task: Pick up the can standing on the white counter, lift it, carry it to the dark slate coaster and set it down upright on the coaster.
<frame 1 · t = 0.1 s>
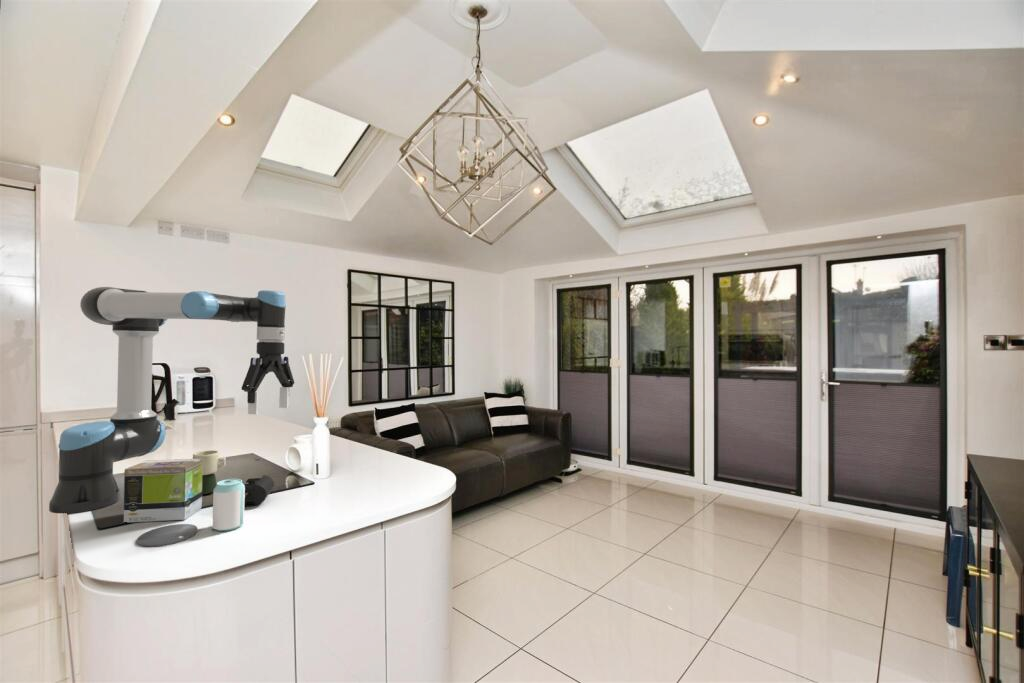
hand: (269, 410, 138), 28 cm above the table, tool pointing down, fingers open, 13 cm apart
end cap: (257, 502, 138), on the table
can: (228, 527, 119), on the table
tea box: (164, 516, 126), on the table
character mug: (205, 493, 144), on the table
coaster: (168, 536, 113), on the table
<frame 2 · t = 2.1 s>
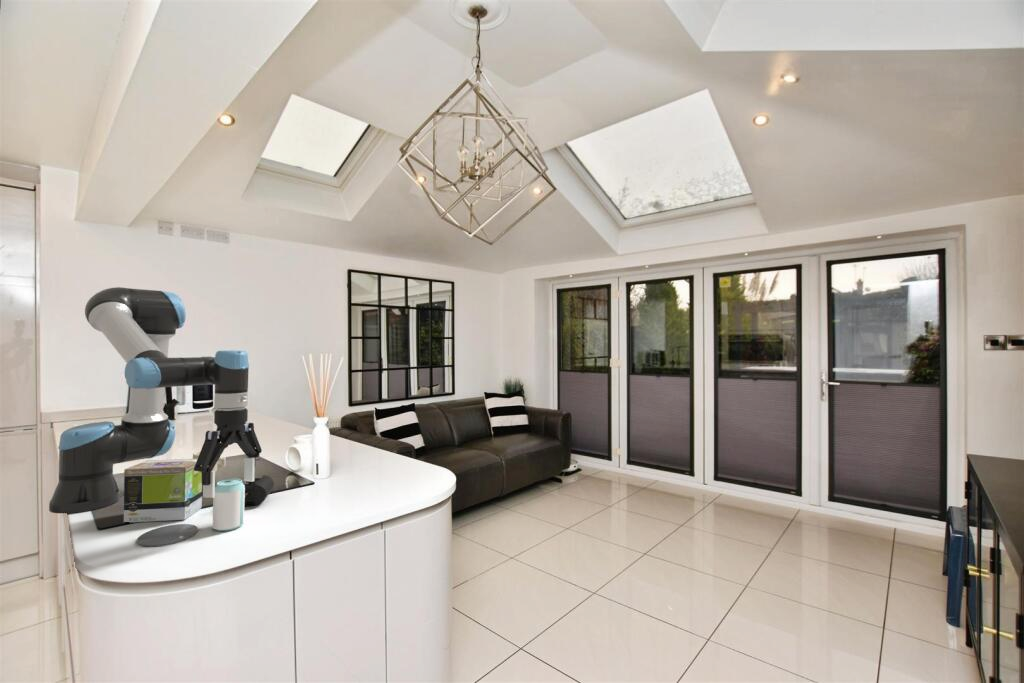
hand: (230, 488, 119), 10 cm above the table, tool pointing down, fingers open, 13 cm apart
nothing on the table moved.
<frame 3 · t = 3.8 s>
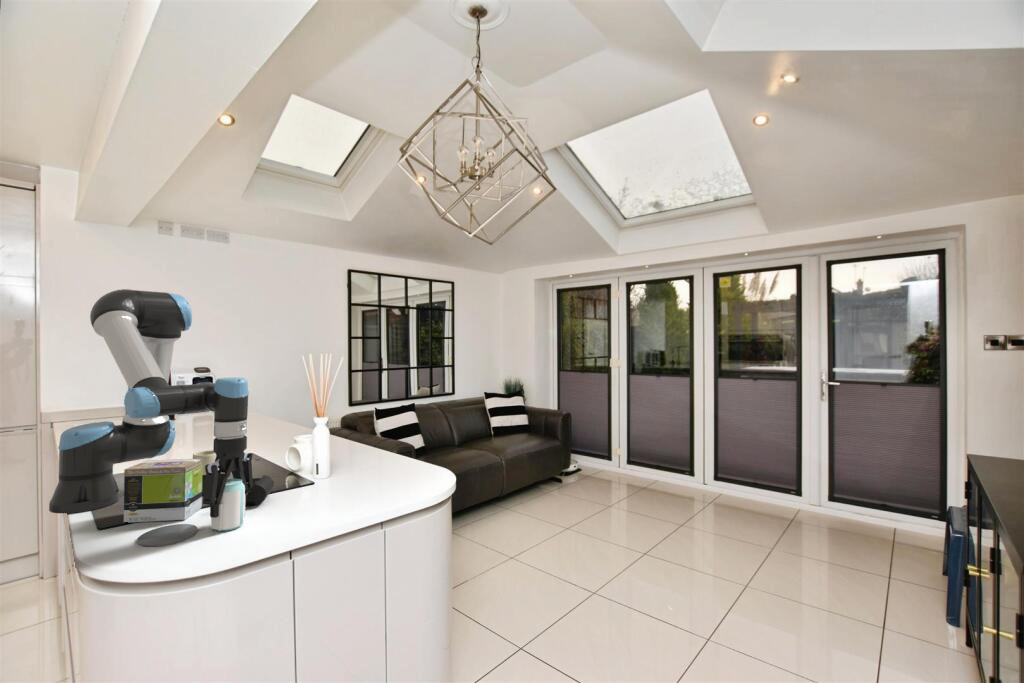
hand: (228, 522, 119), 1 cm above the table, tool pointing down, fingers closed on can, 7 cm apart
can: (228, 527, 119), on the table, touching gripper
everything else where it was.
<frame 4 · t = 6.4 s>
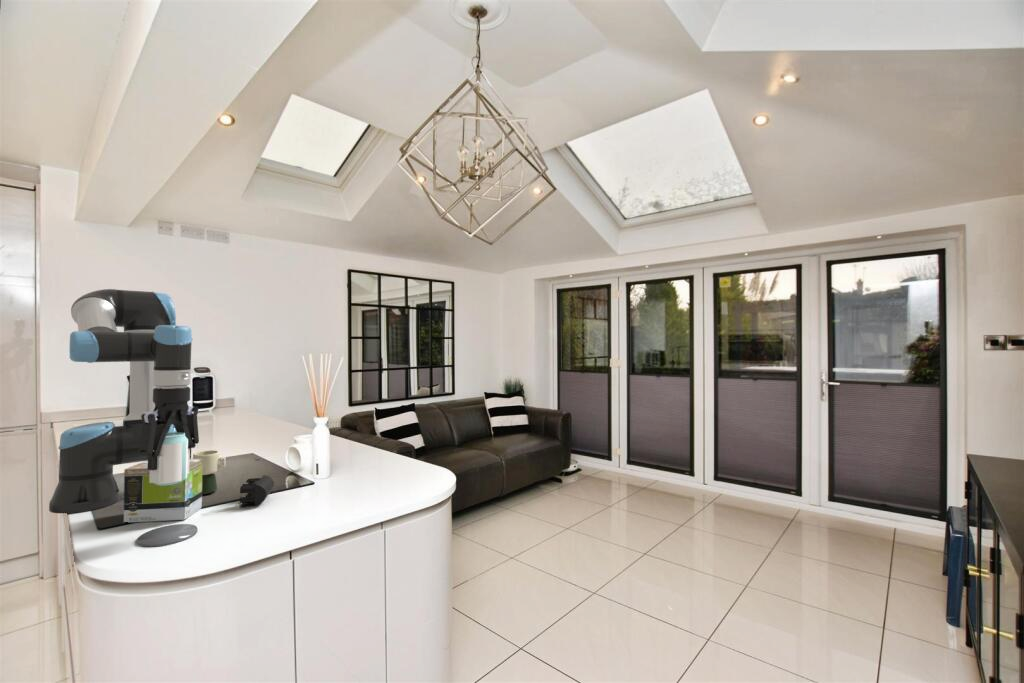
hand: (169, 477, 113), 15 cm above the table, tool pointing down, fingers closed on can, 7 cm apart
can: (169, 482, 113), point 13 cm above the table, touching gripper
everything else where it was.
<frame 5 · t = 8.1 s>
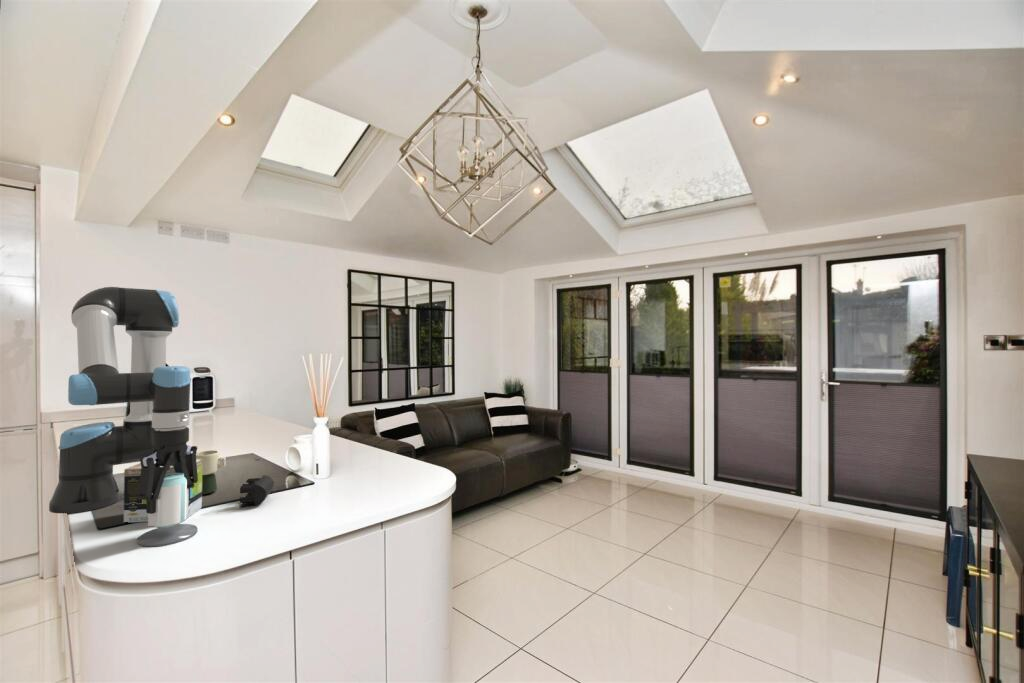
hand: (168, 519, 113), 4 cm above the table, tool pointing down, fingers closed on can, 7 cm apart
can: (168, 524, 113), point 3 cm above the table, touching gripper
everything else where it was.
when the fingers open (3 cm above the table, at t = 9.2 s): can drops 1 cm, resting on coaster.
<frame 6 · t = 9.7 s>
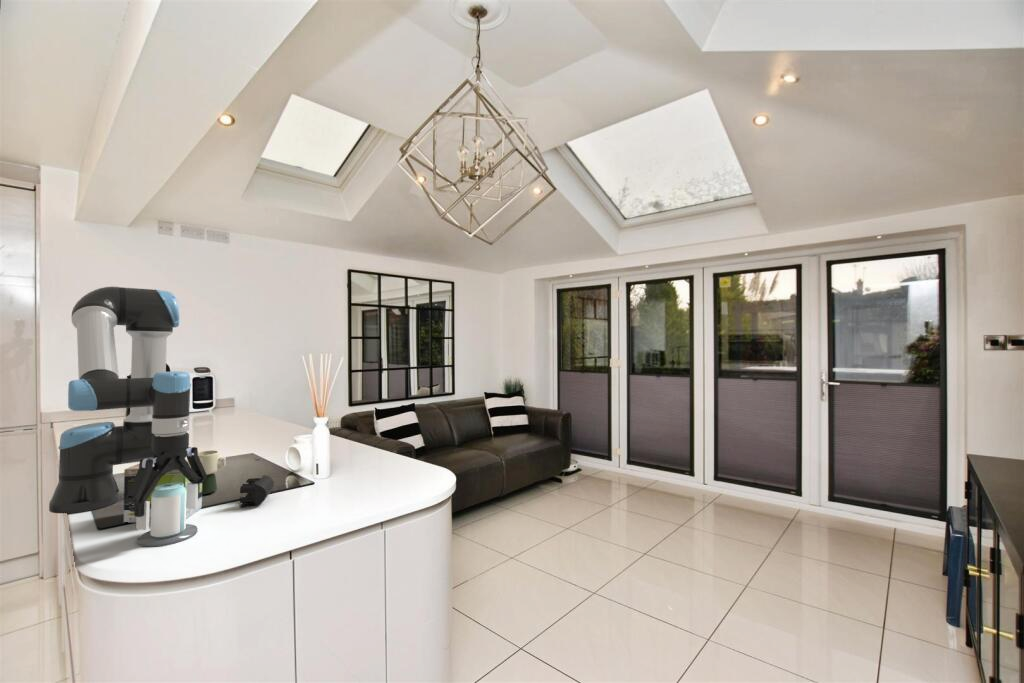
hand: (168, 518, 113), 4 cm above the table, tool pointing down, fingers open, 13 cm apart
can: (168, 534, 113), resting on coaster
everything else where it was.
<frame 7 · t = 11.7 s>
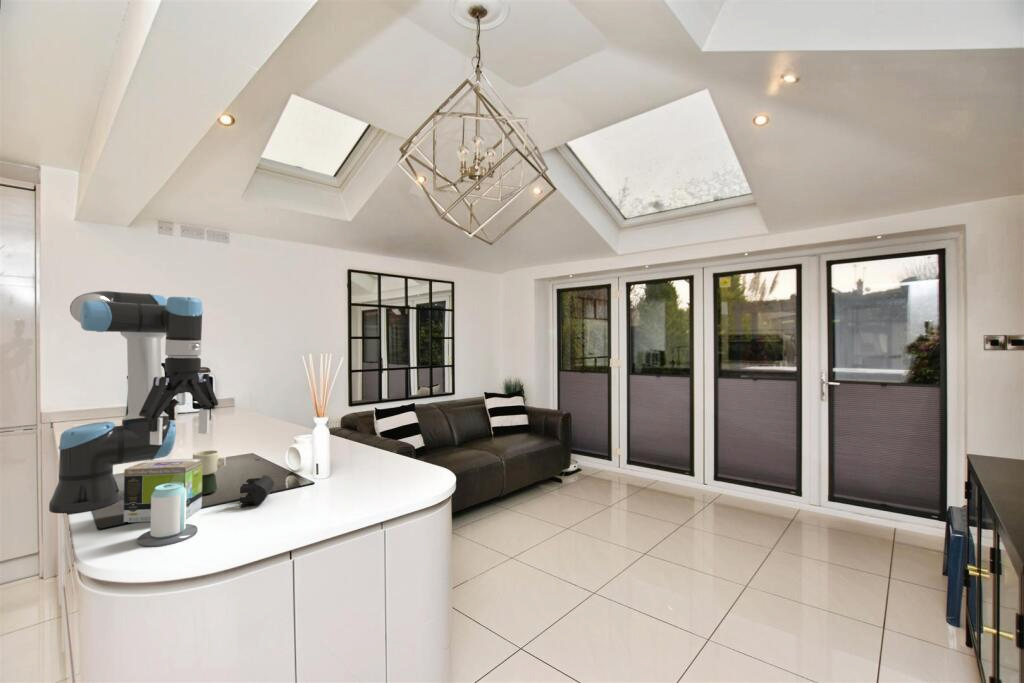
hand: (181, 438, 117), 24 cm above the table, tool pointing down, fingers open, 13 cm apart
nothing on the table moved.
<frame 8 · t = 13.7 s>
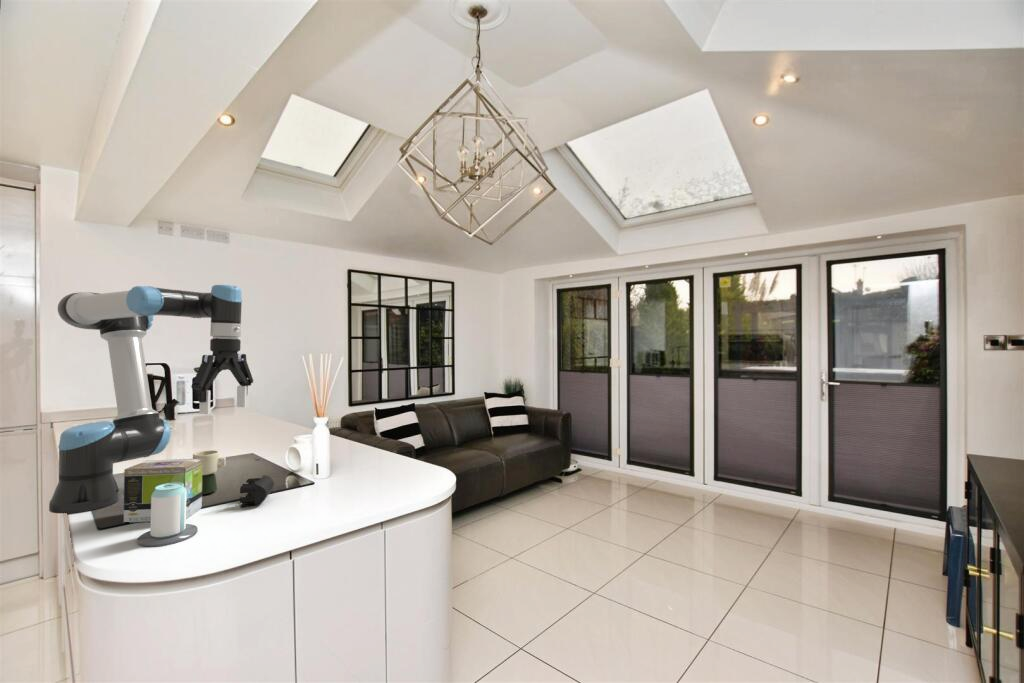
hand: (224, 410, 132), 29 cm above the table, tool pointing down, fingers open, 13 cm apart
nothing on the table moved.
at the end: can 0.1 cm from the coaster (horizontally); can tilted 0°; the gripper is holding nothing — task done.
